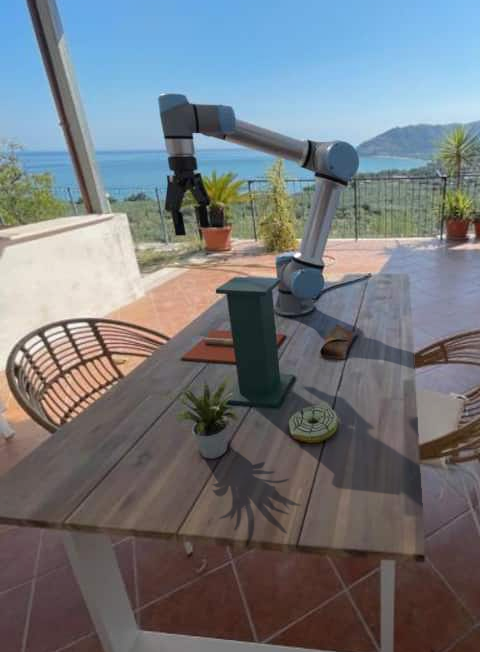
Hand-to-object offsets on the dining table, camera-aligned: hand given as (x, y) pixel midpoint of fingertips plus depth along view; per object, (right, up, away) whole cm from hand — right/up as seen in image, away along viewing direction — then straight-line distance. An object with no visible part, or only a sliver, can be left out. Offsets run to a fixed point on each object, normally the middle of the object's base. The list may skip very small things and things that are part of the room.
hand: (193, 231), depth 117 cm
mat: (+10, -36, +8) cm, 39 cm away
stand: (+24, -45, -14) cm, 53 cm away
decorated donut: (+40, -51, -30) cm, 71 cm away
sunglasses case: (+44, -36, +9) cm, 58 cm away
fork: (+11, -35, +8) cm, 38 cm away
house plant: (+19, -54, -36) cm, 67 cm away
